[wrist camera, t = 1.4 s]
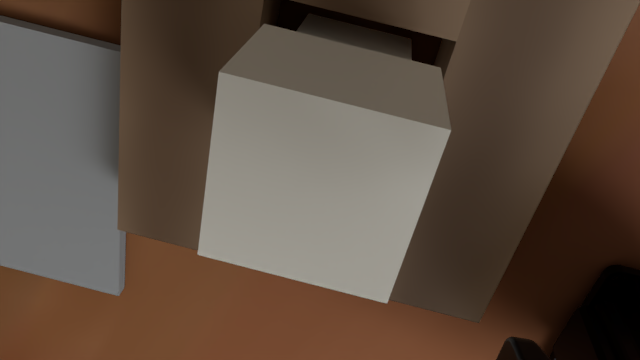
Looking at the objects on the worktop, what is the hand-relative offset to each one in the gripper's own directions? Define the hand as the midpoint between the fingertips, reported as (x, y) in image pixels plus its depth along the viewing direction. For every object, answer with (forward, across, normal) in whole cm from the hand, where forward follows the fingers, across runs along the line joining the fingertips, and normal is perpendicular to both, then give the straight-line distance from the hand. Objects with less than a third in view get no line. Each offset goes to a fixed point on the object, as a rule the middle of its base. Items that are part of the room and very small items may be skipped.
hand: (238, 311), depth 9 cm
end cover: (+12, -2, 0) cm, 12 cm away
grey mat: (+13, +13, +6) cm, 19 cm away
